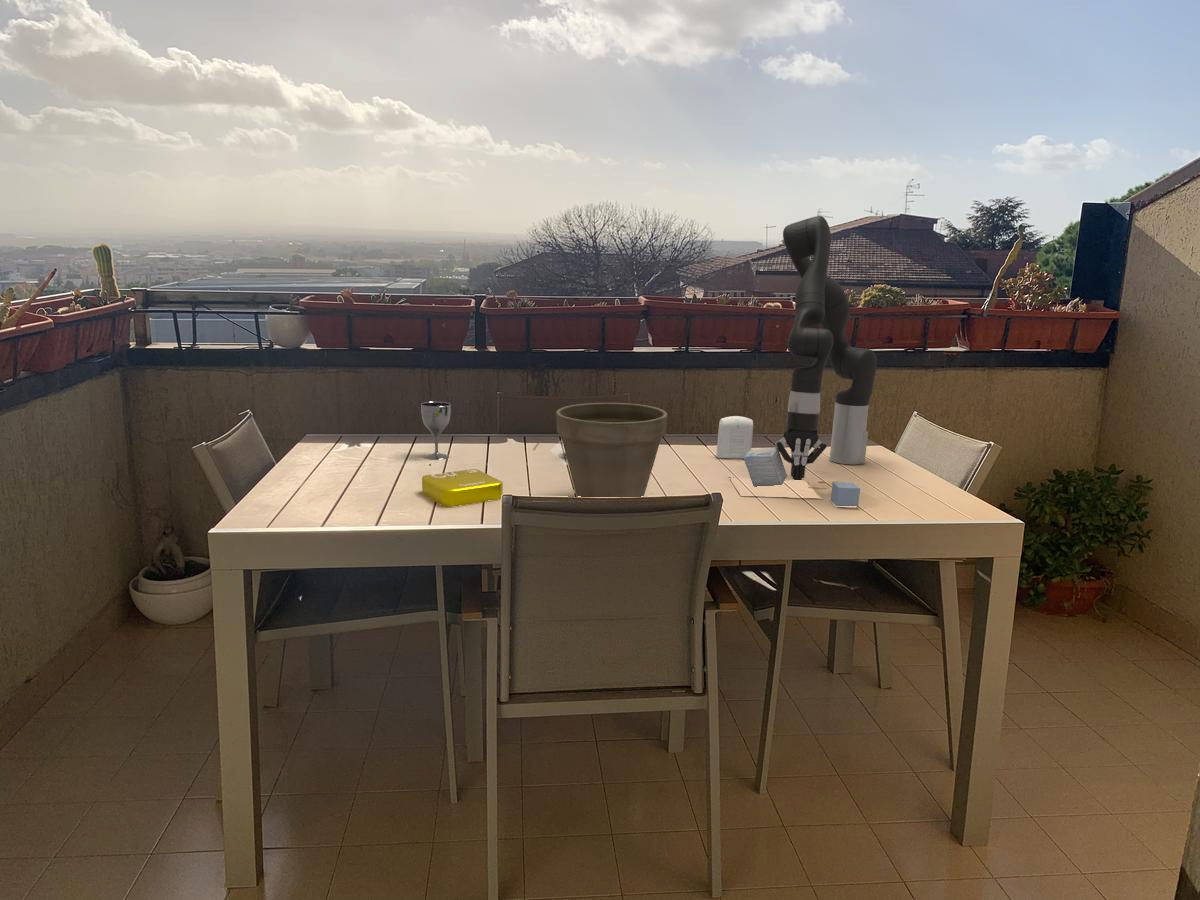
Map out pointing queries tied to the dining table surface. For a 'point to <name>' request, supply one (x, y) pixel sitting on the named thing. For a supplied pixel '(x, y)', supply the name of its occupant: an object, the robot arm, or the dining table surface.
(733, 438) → the photo printer
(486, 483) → the element tile
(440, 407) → the wine glass
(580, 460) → the plant pot
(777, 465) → the medicine box
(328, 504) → the dining table surface
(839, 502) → the slate-blue cube
